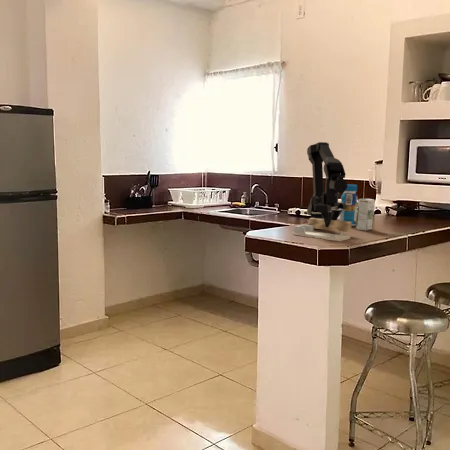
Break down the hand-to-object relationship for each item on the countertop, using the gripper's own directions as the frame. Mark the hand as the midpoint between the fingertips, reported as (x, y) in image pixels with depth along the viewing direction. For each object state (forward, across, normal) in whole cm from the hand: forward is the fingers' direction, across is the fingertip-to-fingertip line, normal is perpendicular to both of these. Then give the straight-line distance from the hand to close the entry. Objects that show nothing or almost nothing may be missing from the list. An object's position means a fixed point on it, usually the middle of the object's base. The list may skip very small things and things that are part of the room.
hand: (329, 226), depth 240 cm
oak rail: (+1, 0, 0) cm, 1 cm away
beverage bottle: (+4, -36, -9) cm, 37 cm away
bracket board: (+3, +9, +1) cm, 10 cm away
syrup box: (+4, -27, +4) cm, 28 cm away
